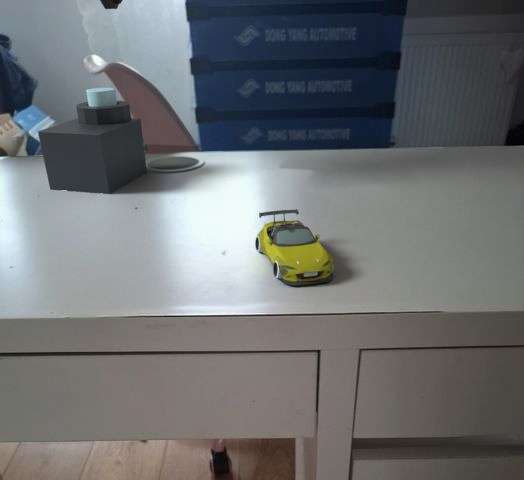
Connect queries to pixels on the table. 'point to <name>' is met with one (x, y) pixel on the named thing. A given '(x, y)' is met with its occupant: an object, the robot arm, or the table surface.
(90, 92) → the pale turquoise short cylinder
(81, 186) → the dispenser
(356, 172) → the table surface
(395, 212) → the table surface
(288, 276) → the sports car
